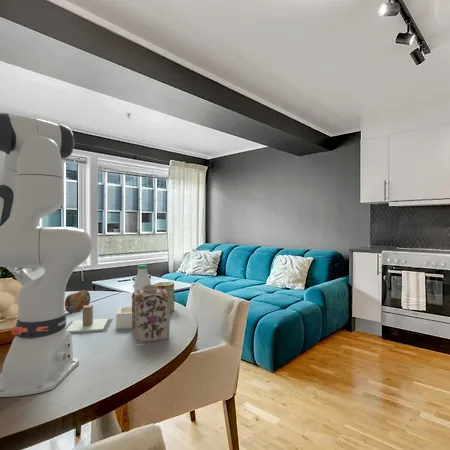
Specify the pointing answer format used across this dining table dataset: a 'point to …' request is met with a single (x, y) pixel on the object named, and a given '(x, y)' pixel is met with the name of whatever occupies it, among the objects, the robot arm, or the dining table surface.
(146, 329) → the decorative jar
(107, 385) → the dining table surface
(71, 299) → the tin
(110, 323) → the mat
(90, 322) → the lid
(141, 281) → the milk bottle
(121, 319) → the dish
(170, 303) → the yellow labeled can
